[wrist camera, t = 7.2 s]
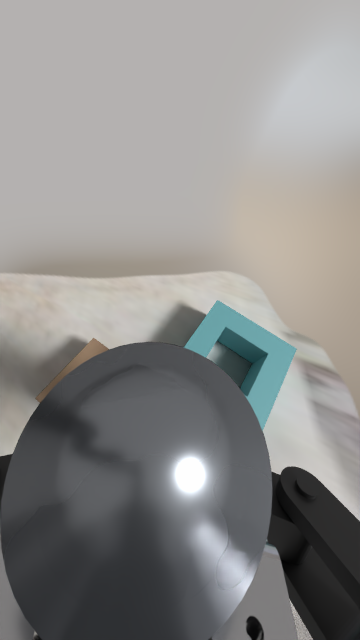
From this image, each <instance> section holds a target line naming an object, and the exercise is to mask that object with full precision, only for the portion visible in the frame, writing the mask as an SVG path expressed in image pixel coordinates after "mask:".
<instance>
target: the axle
mask: <svg viewBox="0 0 360 640" xmlns="http://www.w3.org/2000/svg"><path fill="white" fill-rule="evenodd" d="M271 508H272V474H271V466H270V459H269V453H268V449H267V445H266V441H265V437H264V434H263V431H262V429H261V426H260V423H259V421H258V418H257V416H256V414H255V412H254V410H253V408H252V406H251V404H250V403H249V401H248V400H247V398H246V397H245V395H244V393H243V392H242V391H241V389H240V388H239V387H238V386H237V384H236V383H235V382H234V381H233V380H232V379H231V378H230V377H229V376H228V375H227V374H226V373H225V372H224V371H223V370H222V369H221V368H220V367H218V366H217V365H216V364H214V363H213V362H212V361H210V360H209V359H207V358H205V357H204V356H202V355H200V354H198V353H196V352H194V351H191V350H189V349H186V348H183V347H180V346H177V345H172V344H166V343H156V342H144V343H133V344H128V345H123V346H119V347H116V348H113V349H110V350H107V351H105V352H103V353H100V354H98V355H96V356H94V357H92V358H90V359H89V360H87V361H85V362H84V363H82V364H80V365H79V366H78V367H76V368H75V369H74V370H72V371H71V372H70V373H68V374H67V375H66V376H65V377H64V378H63V379H62V380H61V381H60V382H58V383H57V384H56V385H55V386H54V387H53V388H52V390H51V391H50V392H49V393H48V394H47V395H46V397H45V398H44V399H43V400H42V401H41V403H40V404H39V406H38V407H37V409H36V410H35V411H34V413H33V414H32V416H31V417H30V419H29V421H28V423H27V425H26V426H25V428H24V430H23V432H22V434H21V436H20V438H19V440H18V443H17V445H16V447H15V450H14V452H13V455H12V458H11V461H10V464H9V468H8V471H7V475H6V479H5V484H4V490H3V495H2V502H1V517H0V533H1V549H2V554H3V560H4V565H5V570H6V575H7V577H8V580H9V583H10V586H11V589H12V592H13V595H14V598H15V599H16V601H17V603H18V605H19V607H20V609H21V611H22V613H23V615H24V617H25V619H26V620H27V621H28V622H29V624H30V625H31V626H32V628H33V629H34V630H35V632H36V633H37V634H38V635H39V637H40V638H41V639H42V640H208V639H210V638H211V637H212V636H213V635H214V634H215V633H216V631H217V630H218V629H219V628H220V627H221V626H222V625H223V624H224V623H225V622H226V621H227V620H228V618H229V617H230V616H231V614H232V613H233V611H234V610H235V609H236V607H237V606H238V604H239V603H240V602H241V600H242V598H243V597H244V595H245V593H246V591H247V589H248V587H249V585H250V584H251V582H252V580H253V578H254V575H255V573H256V570H257V568H258V565H259V563H260V560H261V558H262V554H263V550H264V547H265V543H266V539H267V536H268V530H269V524H270V518H271Z"/></svg>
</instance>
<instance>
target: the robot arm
mask: <svg viewBox="0 0 360 640" xmlns="http://www.w3.org/2000/svg"><path fill="white" fill-rule="evenodd" d="M12 455H13V454H10V455H5V456H0V517H1V502H2V495H3V490H4V484H5V479H6V475H7V471H8V468H9V464H10V461H11V458H12ZM271 474H272V508H271V518H270V524H269V530H268V536H267V539H266V543H265V547H264V550H263V554H262V558H261V560H260V563H259V565H258V568H257V570H256V573H255V575H254V578H253V580H252V582H251V584H250V585H249V587H248V589H247V591H246V593H245V595H244V597H243V598H242V600H241V602H240V603H239V604H238V606H237V607H236V609H235V610H234V611H233V613H232V614H231V616H230V617H229V618H228V620H227V621H226V622H225V623H224V624H223V625H222V626H221V627H220V628H219V629H218V630H217V631H216V633H215V634H214V635H213V636H212V637H211V638H210V639H208V640H298V637H297V632H296V628H295V623H294V619H293V614H292V609H291V605H290V601H291V602H292V604H293V606H294V607H295V609H296V611H297V612H298V614H299V616H300V617H301V619H302V621H303V623H304V624H305V626H306V628H307V629H308V631H309V633H310V634H311V636H312V638H313V640H360V521H359V520H358V519H357V518H356V517H355V516H354V515H353V514H352V513H351V512H350V511H349V510H348V509H347V508H346V507H345V506H344V505H343V504H342V503H341V502H340V501H339V500H338V499H337V498H336V497H335V496H334V495H333V494H332V493H331V492H330V491H329V490H328V489H327V488H326V487H325V486H324V485H323V484H322V483H321V482H320V481H319V480H318V479H317V478H316V477H314V476H313V475H312V474H310V473H309V472H307V471H305V470H303V469H301V468H298V467H286V468H285V469H283V471H282V472H281V475H279V474H276V473H273V472H271ZM289 599H290V600H289ZM0 640H42V639H41V638H40V637H39V635H38V634H37V633H36V632H35V630H34V629H33V628H32V626H31V625H30V624H29V622H28V621H27V620H26V619H25V617H24V615H23V613H22V611H21V609H20V607H19V605H18V603H17V601H16V599H15V598H14V595H13V592H12V589H11V586H10V583H9V580H8V577H7V575H6V570H5V565H4V560H3V554H2V549H1V533H0Z"/></svg>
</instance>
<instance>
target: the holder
mask: <svg viewBox="0 0 360 640" xmlns="http://www.w3.org/2000/svg"><path fill="white" fill-rule="evenodd" d="M216 341H219V342H220V343H222V344H223V345H225V346H226V347H228V348H229V349H231V350H232V351H234V352H236V353H237V354H239V355H240V356H242V357H243V358H245V359H246V360H248V361H249V362H251V363H252V366H251V368H250V370H249V372H248V373H247V375H246V377H245V379H244V381H243V383H242V385H241V387H240V389H241V391H242V392H243V393H244V395H245V397H246V398H247V400H248V401H249V403H250V404H251V406H252V408H253V410H254V412H255V414H256V416H257V418H258V421H259V423H260V426H261V429H262V431H263V428H264V426H265V424H266V421H267V419H268V416H269V414H270V412H271V409H272V407H273V404H274V402H275V400H276V397H277V395H278V392H279V390H280V388H281V385H282V383H283V381H284V378H285V376H286V373H287V371H288V369H289V366H290V364H291V361H292V359H293V357H294V354H295V352H296V348H294V347H293V346H291V345H290V344H288V343H286V342H285V341H283V340H281V339H280V338H278V337H277V336H275V335H273V334H272V333H270V332H269V331H267V330H265V329H264V328H262V327H260V326H259V325H257V324H256V323H254V322H252V321H251V320H249V319H247V318H246V317H244V316H243V315H241V314H239V313H238V312H236V311H235V310H233V309H231V308H230V307H228V306H226V305H225V304H223V303H222V302H220V301H218V300H217V301H216V303H215V304H214V306H213V307H212V308H211V310H210V311H209V313H208V314H207V316H206V317H205V318H204V320H203V321H202V323H201V324H200V325H199V327H198V328H197V330H196V331H195V332H194V334H193V335H192V337H191V338H190V339H189V341H188V342H187V344H186V345H185V346H184V348H186V349H189V350H191V351H194V352H196V353H198V354H200V355H202V356H204V357H205V358H206V357H207V355H208V354H209V352H210V350H211V349H212V347H213V346H214V344H215V343H216Z"/></svg>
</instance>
